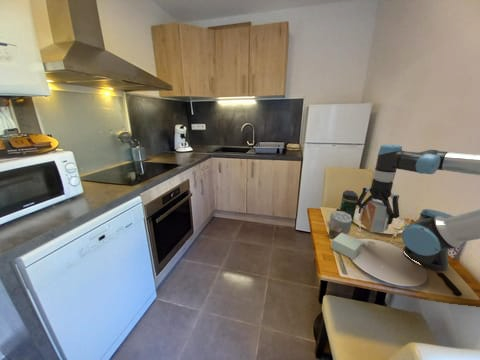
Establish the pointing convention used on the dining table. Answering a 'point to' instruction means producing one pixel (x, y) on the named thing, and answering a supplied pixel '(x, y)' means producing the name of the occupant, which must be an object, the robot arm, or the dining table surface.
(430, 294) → the dining table surface
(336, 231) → the walnut cube
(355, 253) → the pedestal
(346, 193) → the coffee jar
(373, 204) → the small box
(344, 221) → the lumpy-topped squat cylinder
